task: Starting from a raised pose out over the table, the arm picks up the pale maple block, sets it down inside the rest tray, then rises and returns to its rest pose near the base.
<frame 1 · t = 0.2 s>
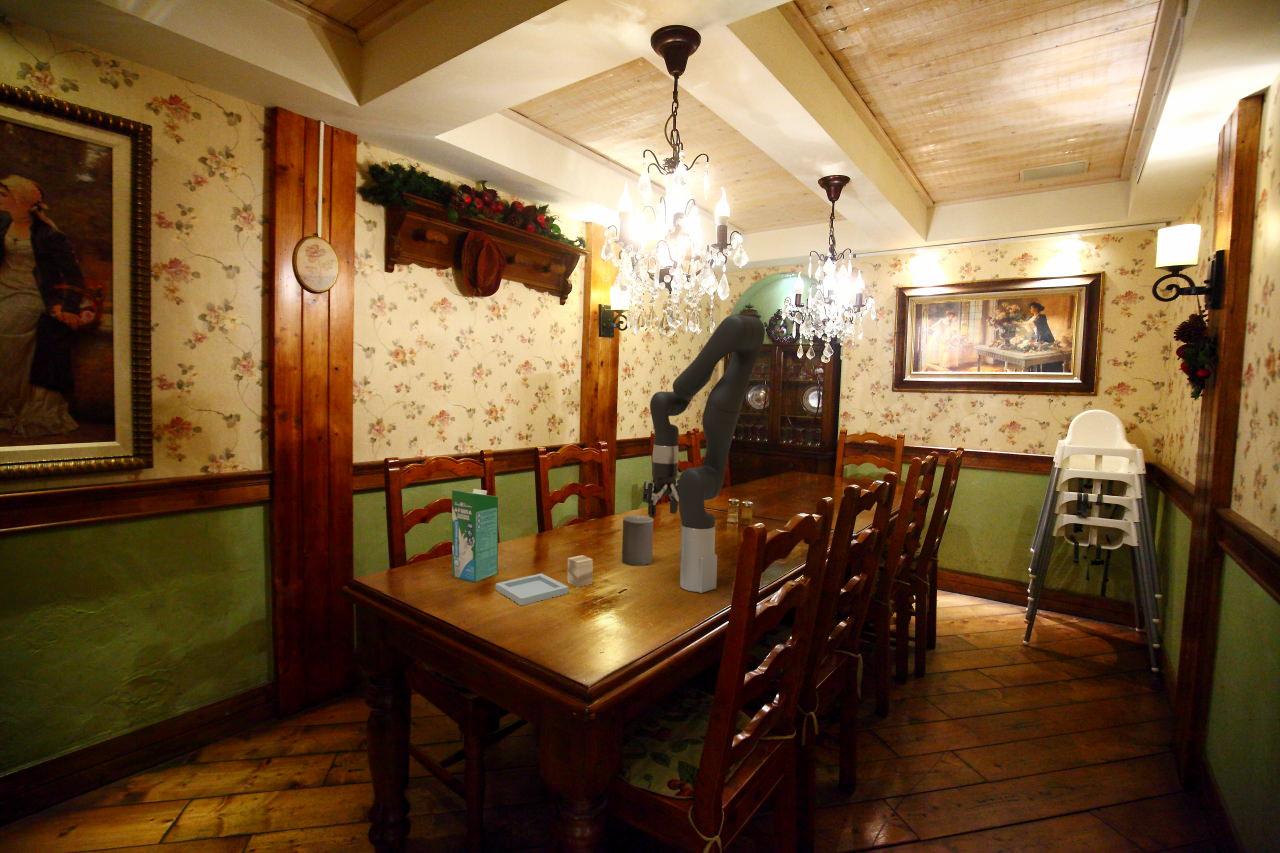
hand: (662, 515, 168), 18 cm above the table, tool pointing down, fingers open, 8 cm apart
maple block: (579, 583, 160), on the table
rest tray: (531, 591, 153), on the table
pillar candle: (637, 561, 181), on the table
milk carton: (475, 575, 165), on the table
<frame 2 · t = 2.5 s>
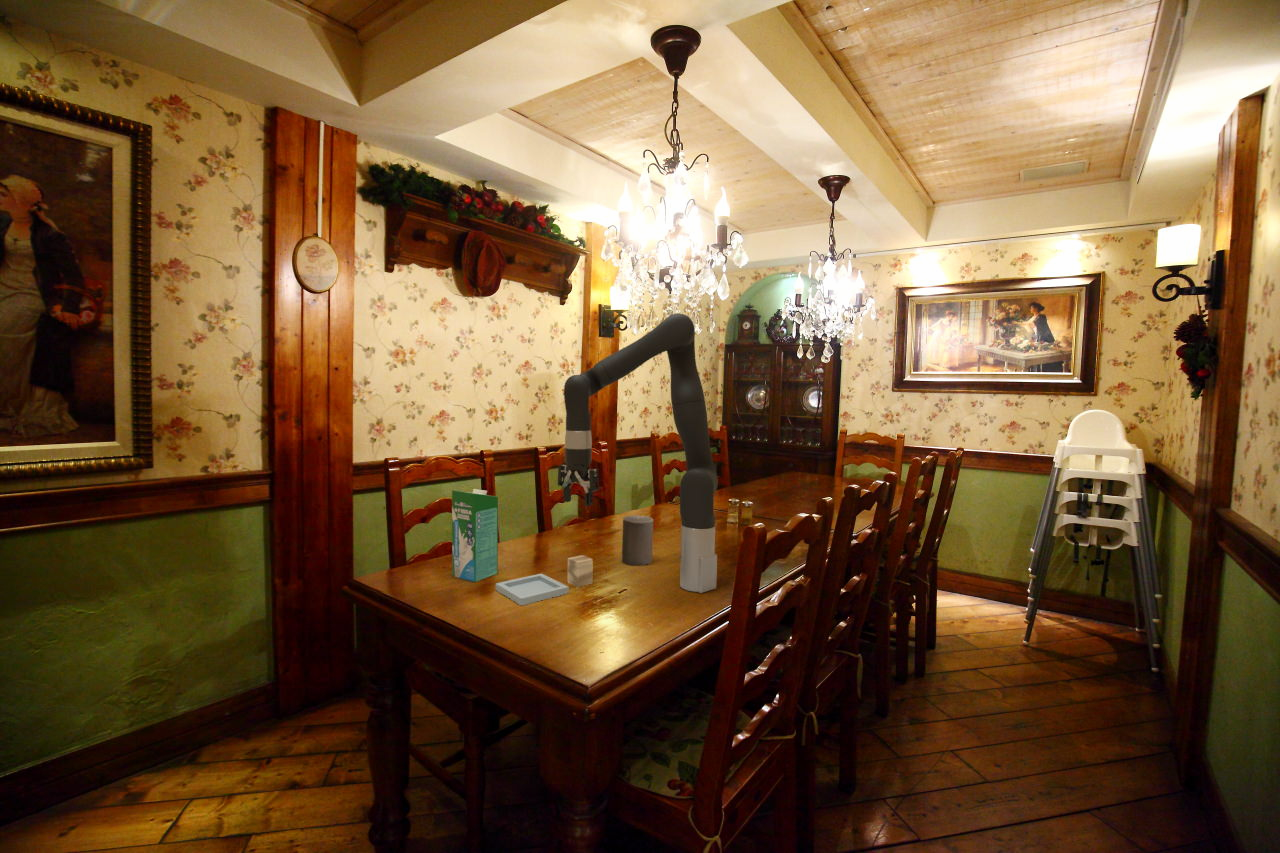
hand: (577, 503, 162), 22 cm above the table, tool pointing down, fingers open, 8 cm apart
nothing on the table moved.
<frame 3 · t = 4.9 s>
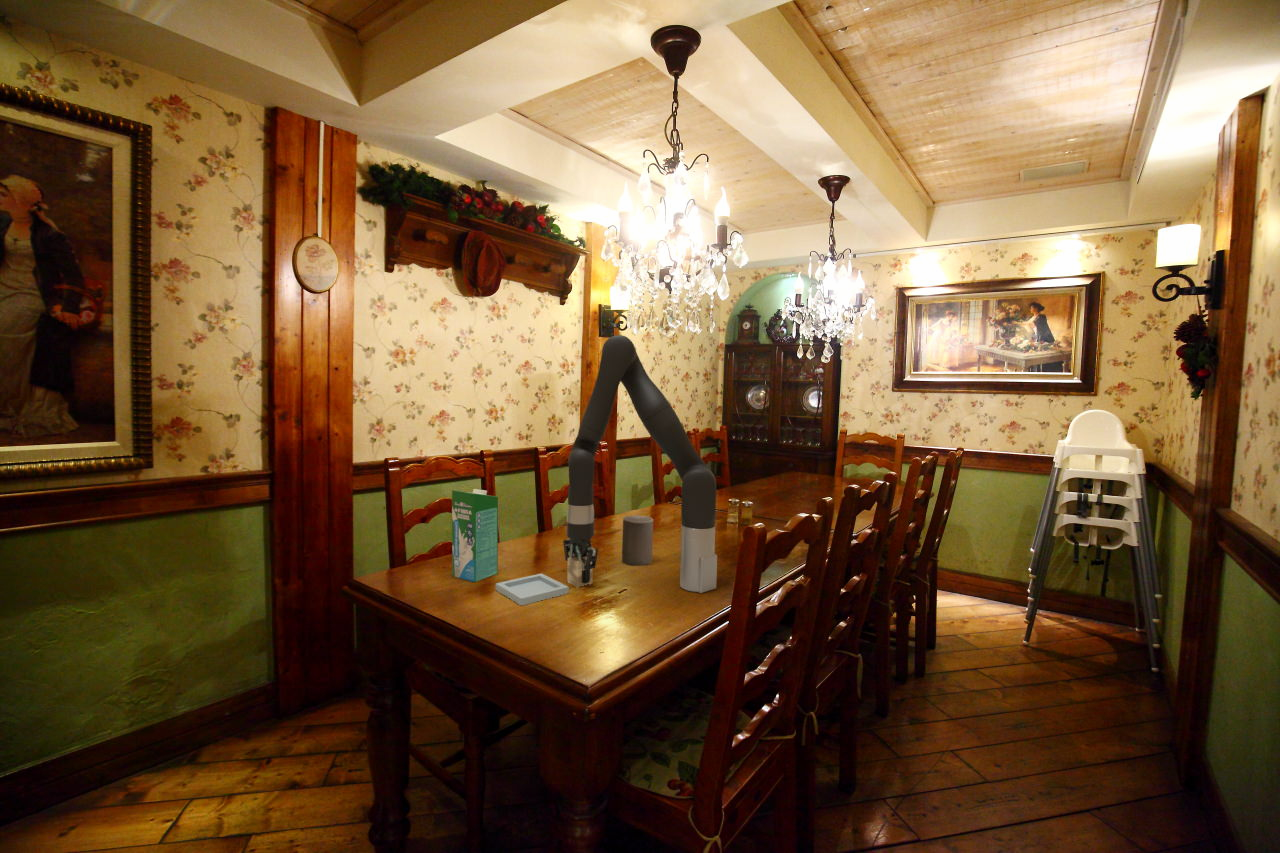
hand: (579, 579, 160), 1 cm above the table, tool pointing down, fingers closed on maple block, 5 cm apart
maple block: (579, 583, 160), on the table, touching gripper
everything else where it was.
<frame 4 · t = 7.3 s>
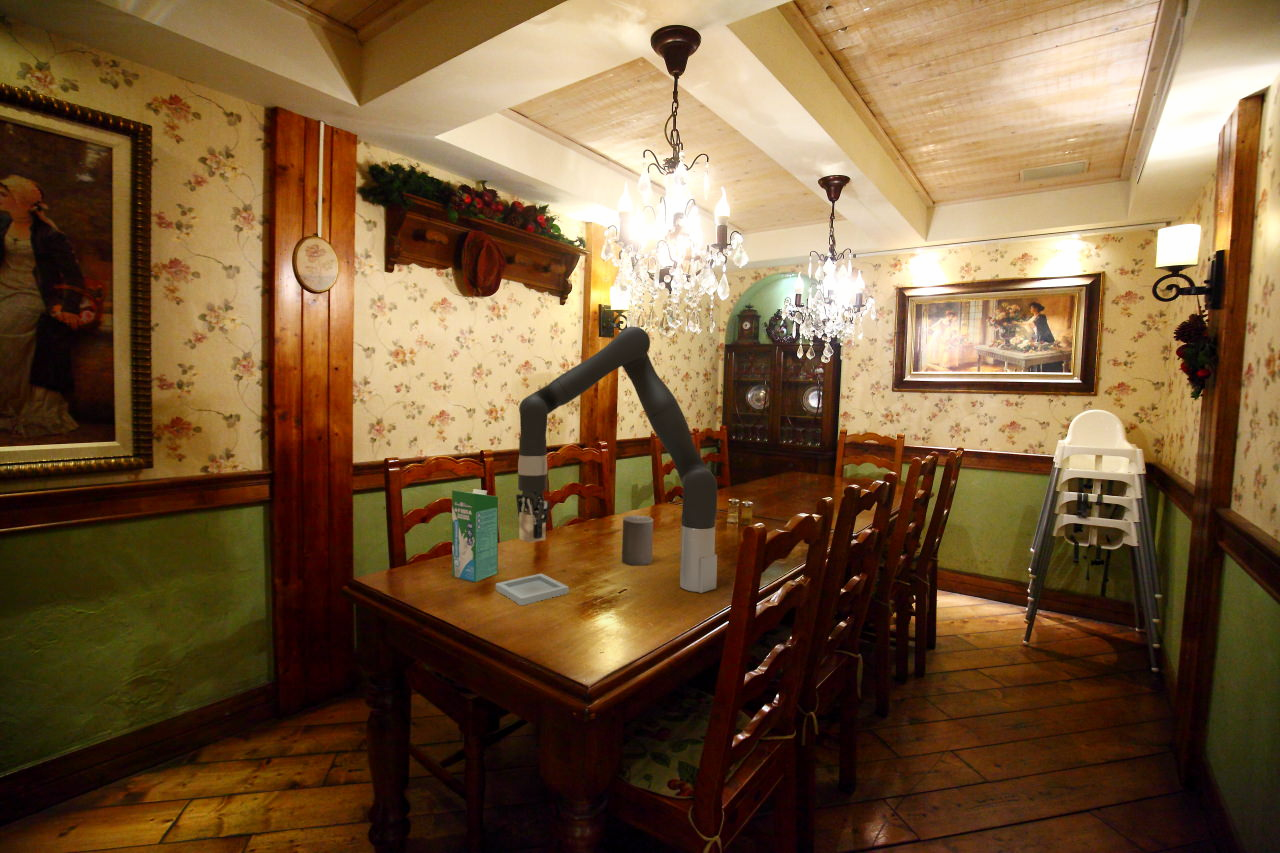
hand: (532, 535, 152), 15 cm above the table, tool pointing down, fingers closed on maple block, 5 cm apart
maple block: (532, 539, 152), point 14 cm above the table, touching gripper
everything else where it was.
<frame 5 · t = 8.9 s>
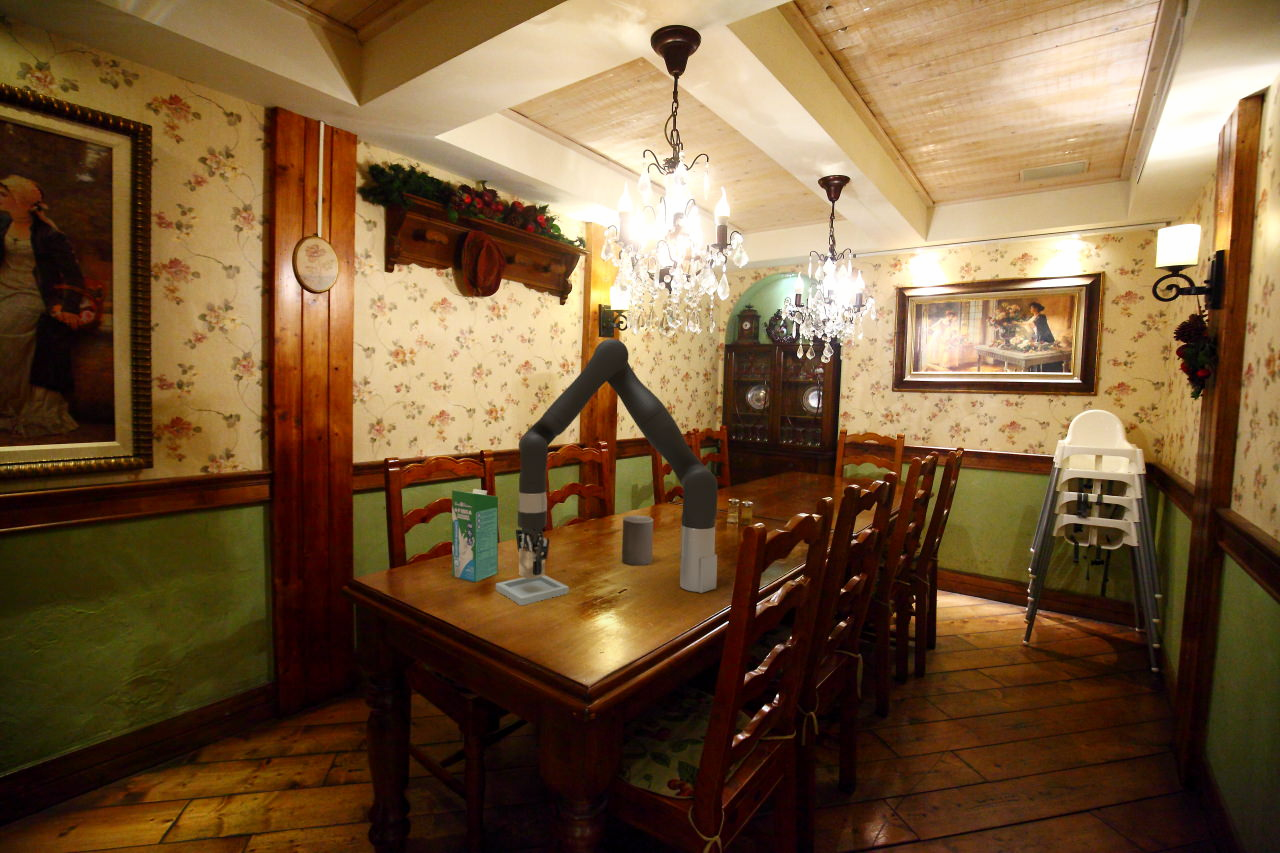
hand: (531, 571, 152), 5 cm above the table, tool pointing down, fingers closed on maple block, 5 cm apart
maple block: (531, 575, 152), point 5 cm above the table, touching gripper
everything else where it was.
when the fingers open (3 cm above the table, at t = 10.0 s): maple block stays where it is, resting on rest tray.
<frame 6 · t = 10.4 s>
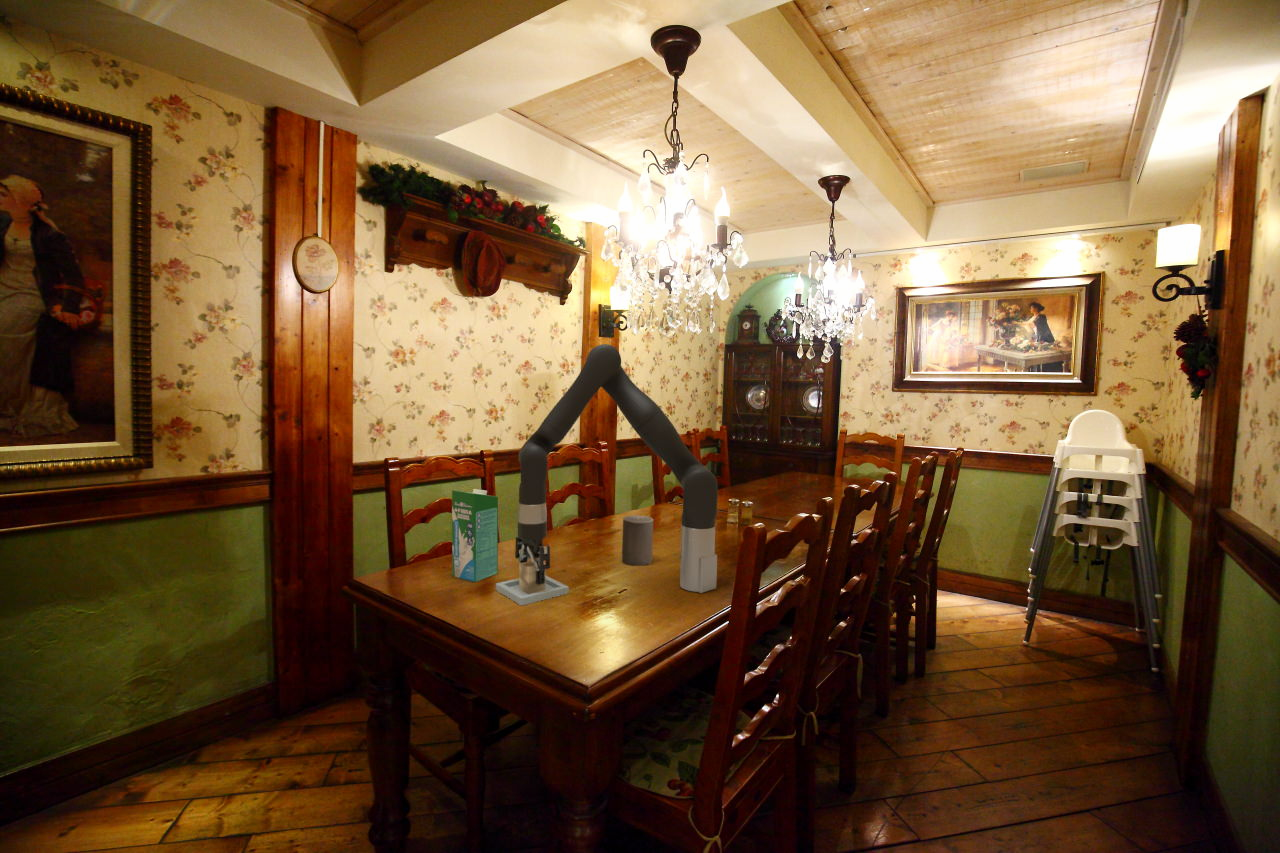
hand: (532, 579, 152), 3 cm above the table, tool pointing down, fingers open, 8 cm apart
maple block: (532, 589, 152), point 1 cm above the table, touching rest tray
everything else where it was.
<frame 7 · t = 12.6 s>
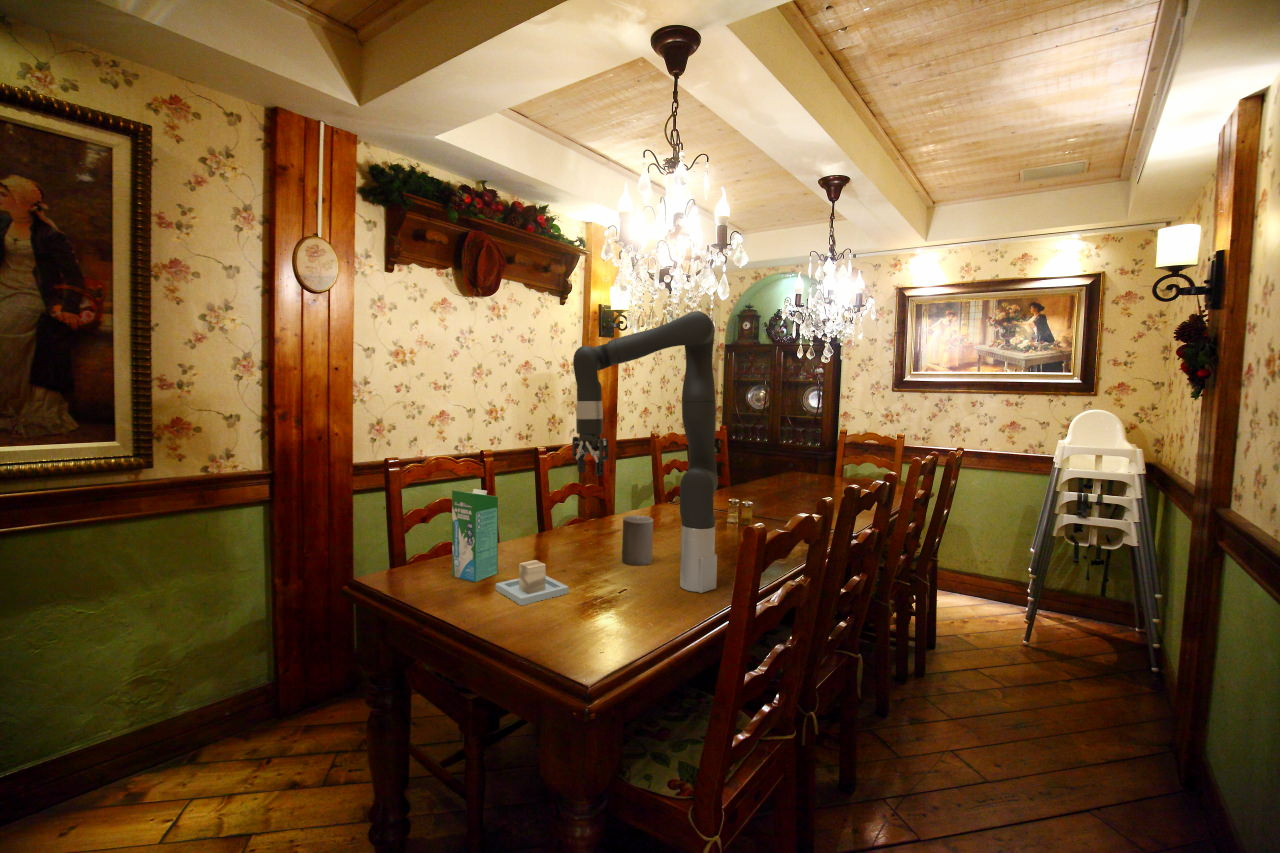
hand: (590, 473, 164), 30 cm above the table, tool pointing down, fingers open, 8 cm apart
nothing on the table moved.
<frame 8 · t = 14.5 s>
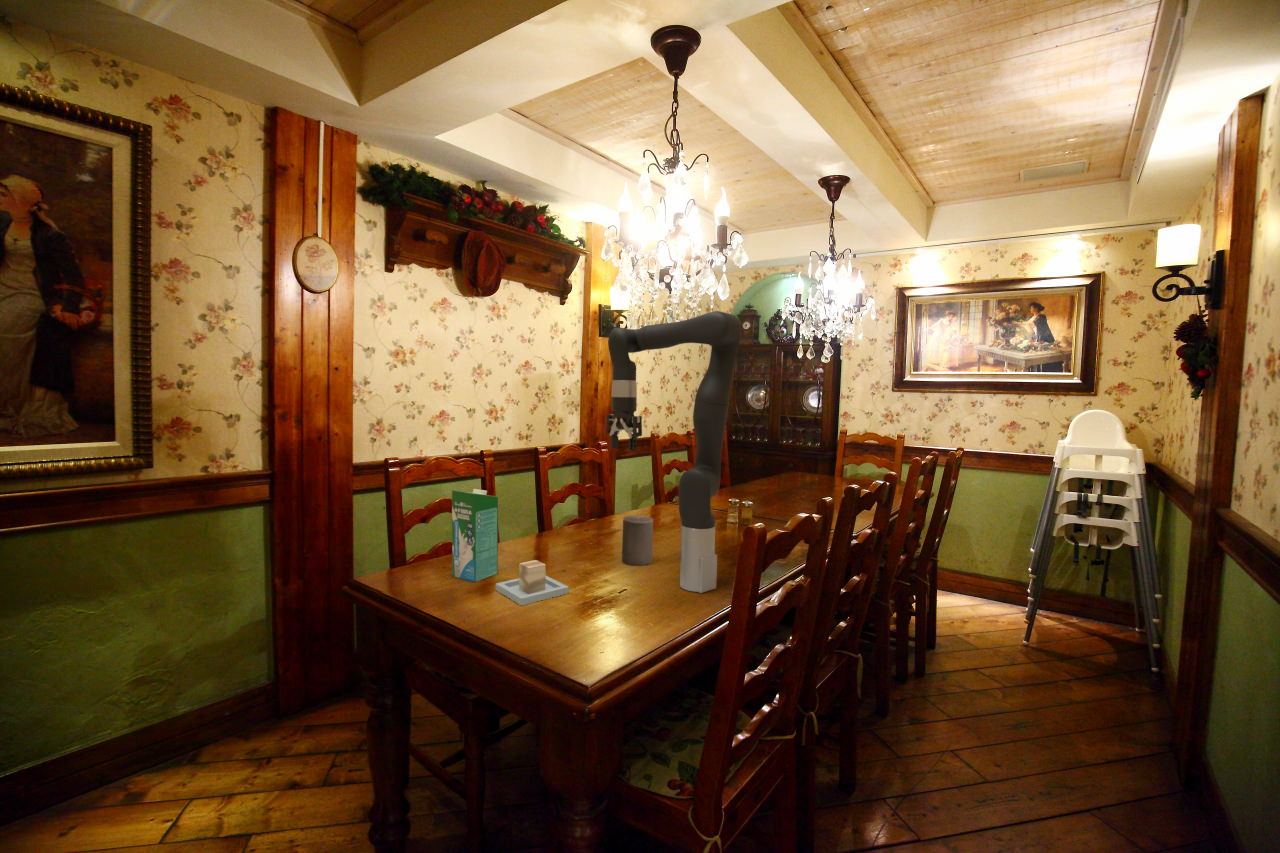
hand: (623, 449, 172), 36 cm above the table, tool pointing down, fingers open, 8 cm apart
nothing on the table moved.
at the end: maple block inside the target area on the rest tray (0.1 cm from its centre), point 0.6 cm above the rest tray's base; maple block tilted 0°; the gripper is holding nothing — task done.
